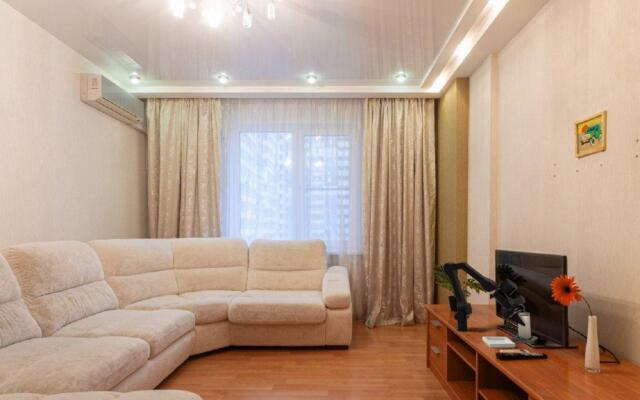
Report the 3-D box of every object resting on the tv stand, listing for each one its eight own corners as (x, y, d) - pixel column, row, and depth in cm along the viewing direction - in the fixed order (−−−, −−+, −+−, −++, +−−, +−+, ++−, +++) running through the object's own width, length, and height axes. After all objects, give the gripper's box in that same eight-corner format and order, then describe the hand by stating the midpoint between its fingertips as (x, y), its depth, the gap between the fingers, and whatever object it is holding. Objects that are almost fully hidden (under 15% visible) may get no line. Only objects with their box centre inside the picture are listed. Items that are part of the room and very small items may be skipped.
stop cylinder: (517, 335, 203) (515, 311, 204) (528, 335, 203) (526, 311, 203) (521, 338, 198) (520, 314, 198) (532, 338, 197) (531, 314, 198)
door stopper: (503, 324, 234) (502, 304, 235) (514, 324, 233) (512, 304, 234) (507, 328, 226) (506, 307, 226) (518, 328, 224) (517, 307, 225)
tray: (482, 340, 203) (482, 336, 203) (506, 340, 202) (506, 336, 202) (490, 347, 191) (489, 343, 191) (515, 348, 190) (515, 343, 190)
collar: (512, 341, 200) (512, 337, 200) (518, 337, 207) (518, 333, 207) (531, 345, 193) (531, 341, 194) (537, 341, 200) (537, 337, 200)
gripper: (507, 293, 198) (532, 318, 189) (520, 288, 211) (544, 312, 202) (492, 306, 203) (516, 332, 195) (506, 301, 216) (528, 324, 207)
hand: (527, 324), depth 200 cm, fingers closed on stop cylinder, 5 cm apart
